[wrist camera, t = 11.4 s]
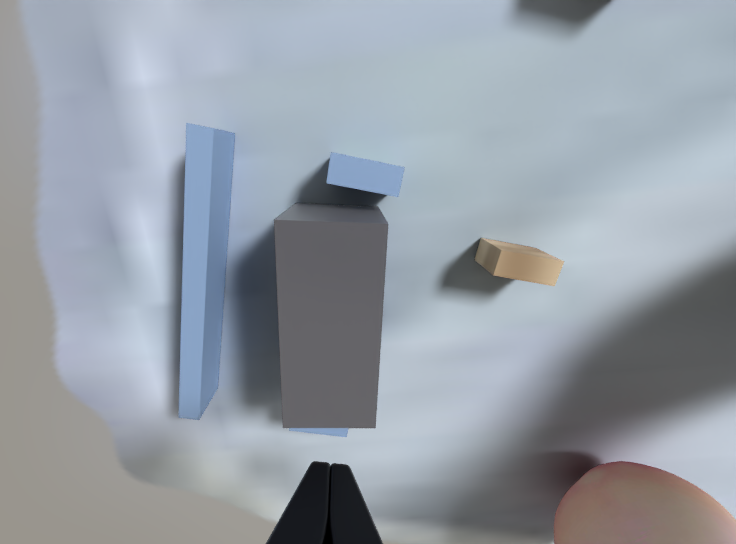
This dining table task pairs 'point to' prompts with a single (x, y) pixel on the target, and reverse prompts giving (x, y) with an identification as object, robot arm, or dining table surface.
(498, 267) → the tan wooden block
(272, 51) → the dining table surface
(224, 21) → the dining table surface
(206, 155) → the separate blue rectangular blocks
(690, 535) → the decorative fruit
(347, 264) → the tall grey block
